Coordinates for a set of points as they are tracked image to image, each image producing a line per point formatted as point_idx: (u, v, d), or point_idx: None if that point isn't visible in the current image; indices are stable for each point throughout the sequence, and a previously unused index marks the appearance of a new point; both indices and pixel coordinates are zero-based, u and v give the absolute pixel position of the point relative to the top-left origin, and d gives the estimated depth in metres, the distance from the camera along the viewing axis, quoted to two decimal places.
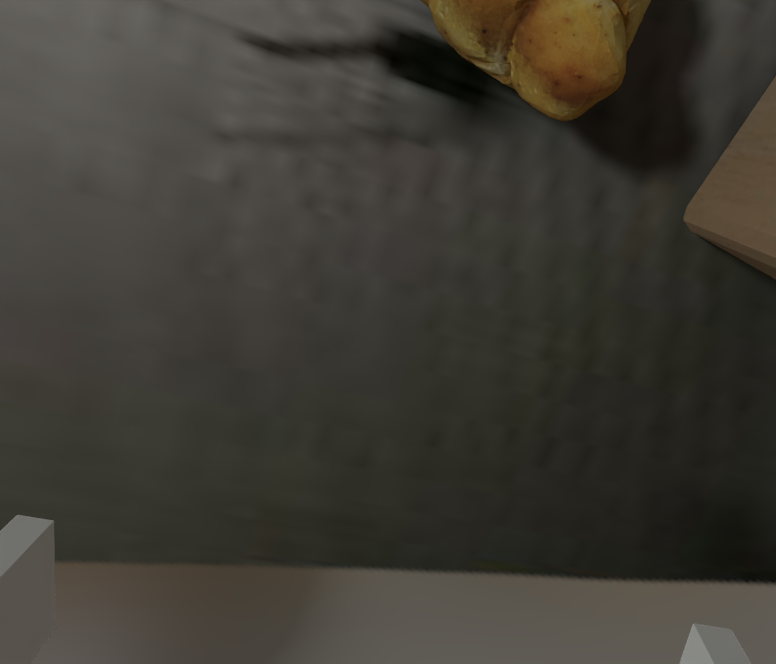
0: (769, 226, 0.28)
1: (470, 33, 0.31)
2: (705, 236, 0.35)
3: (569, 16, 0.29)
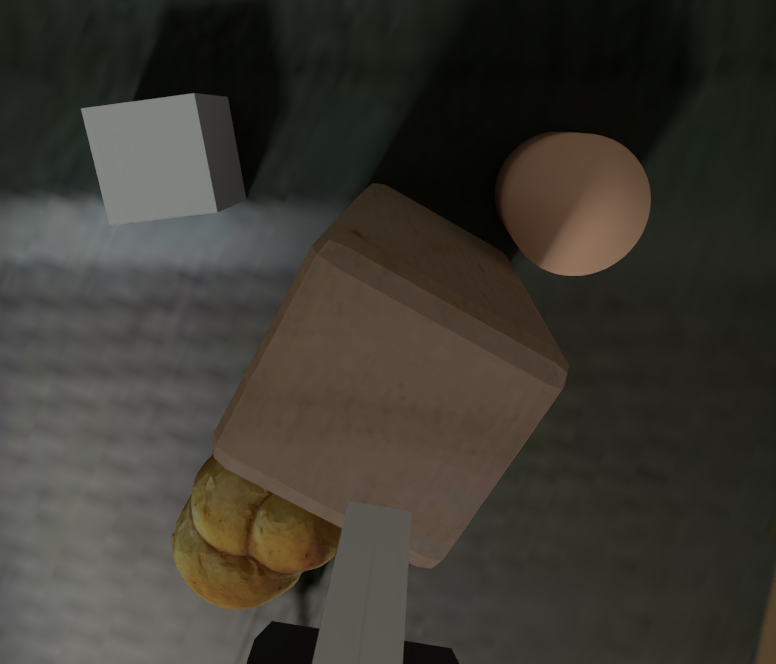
0: None
1: (281, 592, 0.43)
2: None
3: (267, 550, 0.41)
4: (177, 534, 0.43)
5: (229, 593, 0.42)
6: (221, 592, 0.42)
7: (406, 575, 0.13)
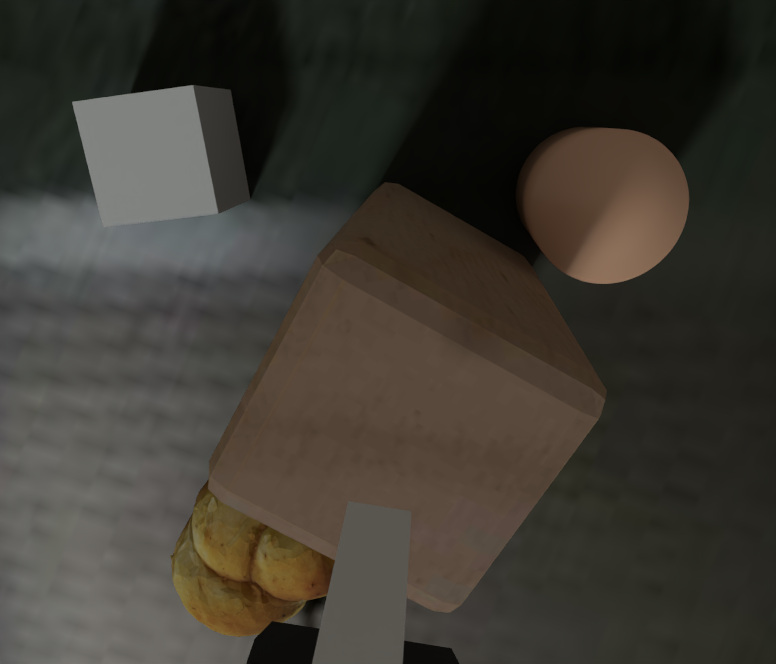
0: None
1: (285, 619, 0.41)
2: None
3: (271, 577, 0.38)
4: (177, 556, 0.41)
5: (230, 621, 0.40)
6: (221, 619, 0.40)
7: (406, 575, 0.13)
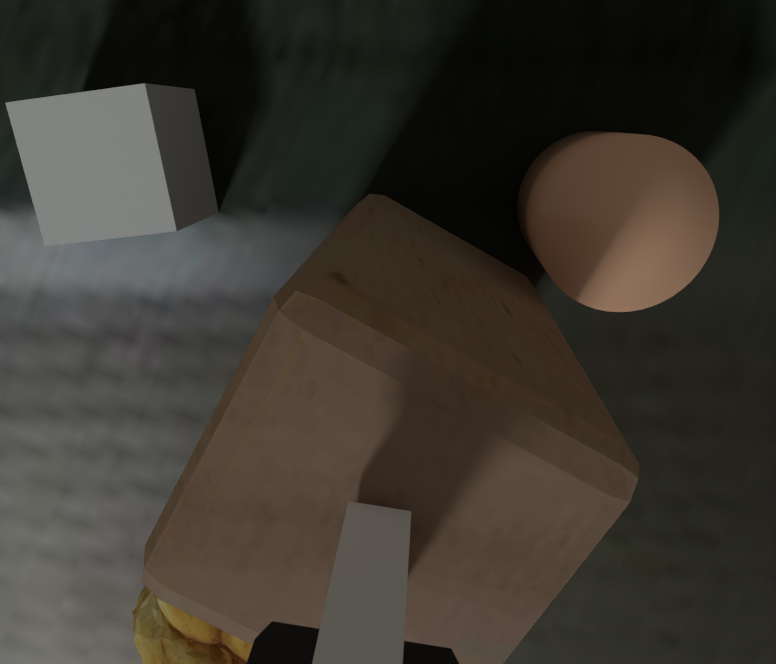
0: None
1: None
2: None
3: (243, 642, 0.34)
4: (138, 613, 0.37)
5: None
6: None
7: (406, 575, 0.13)
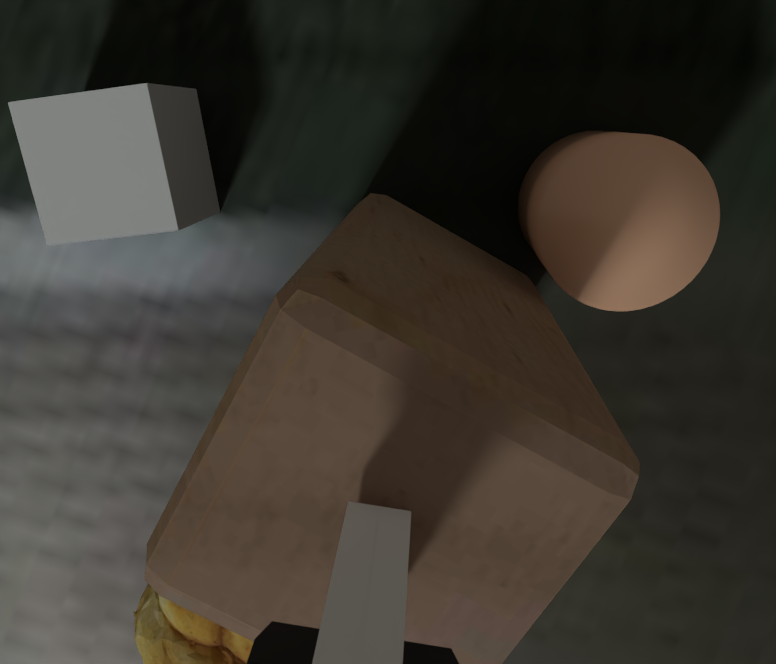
0: None
1: None
2: None
3: (244, 645, 0.34)
4: (140, 614, 0.37)
5: None
6: None
7: (406, 575, 0.13)
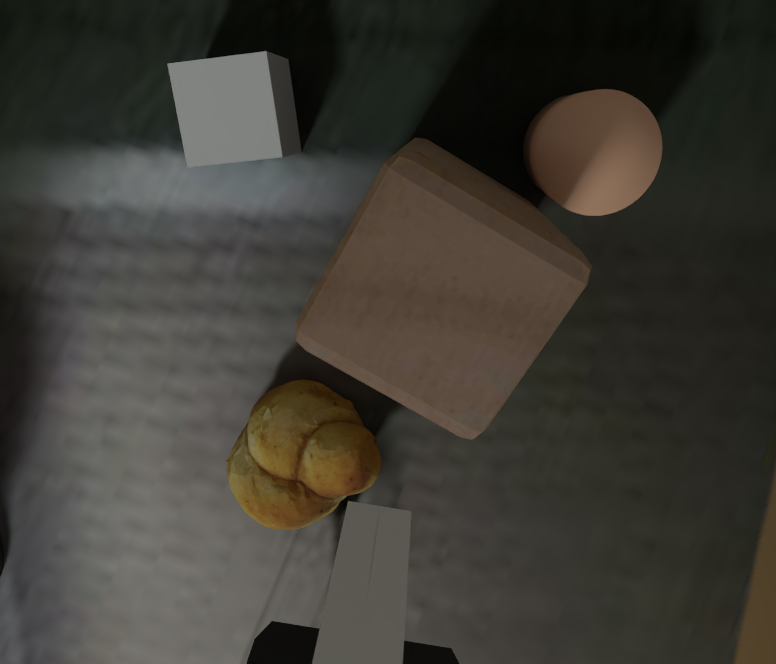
0: None
1: (322, 515, 0.49)
2: None
3: (315, 474, 0.46)
4: (233, 459, 0.49)
5: (278, 512, 0.48)
6: (270, 510, 0.48)
7: (406, 575, 0.13)
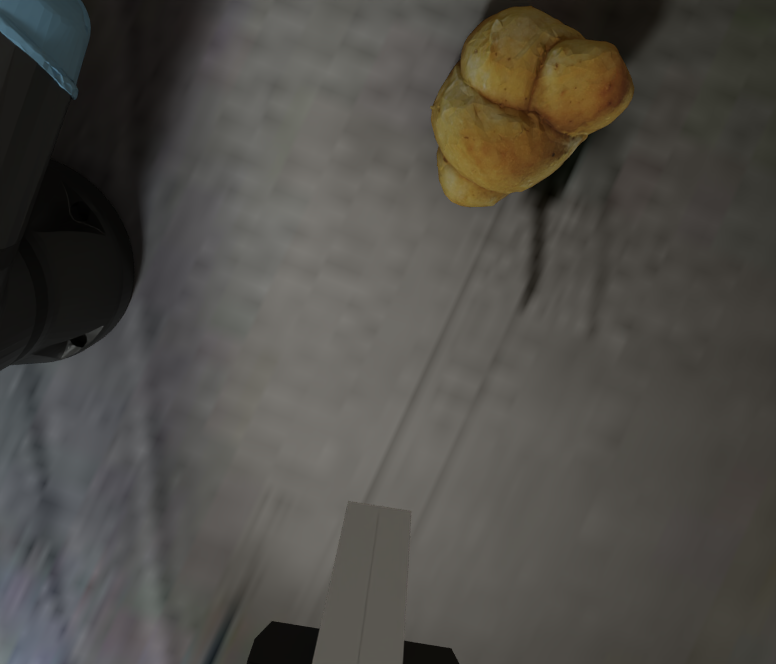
0: None
1: (551, 164, 0.41)
2: None
3: (560, 89, 0.38)
4: (444, 95, 0.41)
5: (505, 148, 0.39)
6: (496, 146, 0.39)
7: (406, 575, 0.13)
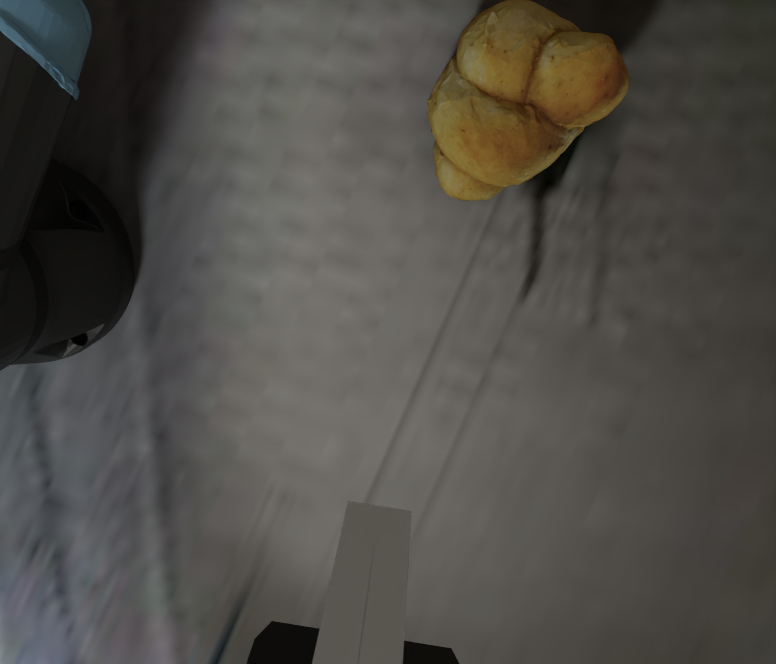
0: None
1: (547, 157, 0.41)
2: None
3: (556, 82, 0.38)
4: (441, 89, 0.41)
5: (502, 141, 0.39)
6: (493, 138, 0.39)
7: (406, 575, 0.13)
